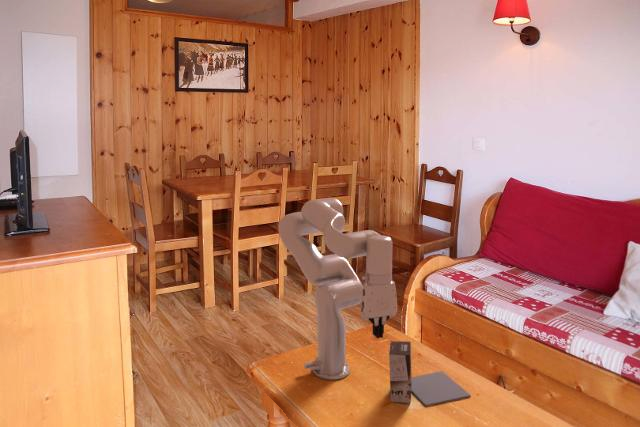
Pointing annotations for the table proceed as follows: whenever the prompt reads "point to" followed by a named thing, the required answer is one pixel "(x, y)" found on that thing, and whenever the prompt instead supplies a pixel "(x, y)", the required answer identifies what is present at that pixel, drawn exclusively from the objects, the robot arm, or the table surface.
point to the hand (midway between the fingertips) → (378, 336)
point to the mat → (436, 389)
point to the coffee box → (400, 371)
